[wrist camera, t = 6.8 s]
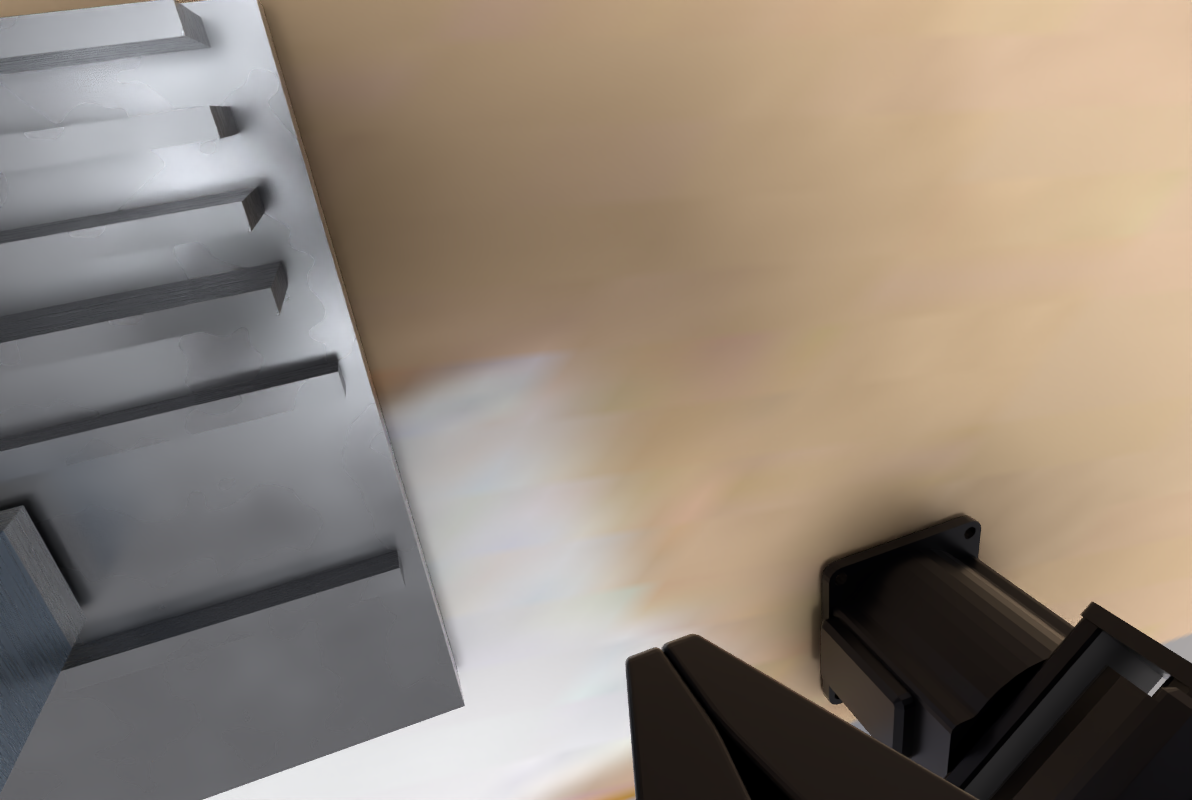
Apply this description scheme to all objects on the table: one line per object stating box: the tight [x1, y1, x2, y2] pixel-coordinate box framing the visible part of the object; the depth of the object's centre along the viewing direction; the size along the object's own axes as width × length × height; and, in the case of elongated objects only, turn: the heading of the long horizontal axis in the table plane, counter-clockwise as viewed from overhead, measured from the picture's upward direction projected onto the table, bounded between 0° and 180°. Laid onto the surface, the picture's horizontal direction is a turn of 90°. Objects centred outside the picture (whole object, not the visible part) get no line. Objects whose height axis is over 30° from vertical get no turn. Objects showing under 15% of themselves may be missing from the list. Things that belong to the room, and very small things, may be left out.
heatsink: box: [0, 0, 465, 800], centre depth 15 cm, size 12×18×5 cm, turn 8°
